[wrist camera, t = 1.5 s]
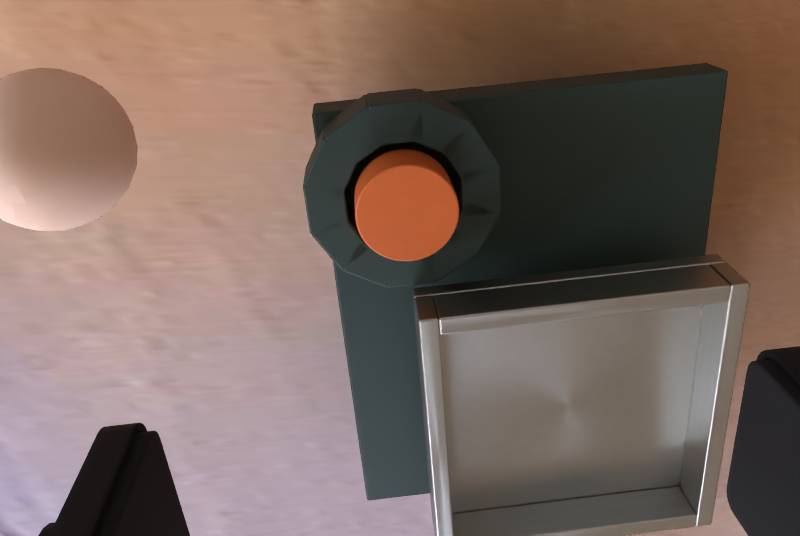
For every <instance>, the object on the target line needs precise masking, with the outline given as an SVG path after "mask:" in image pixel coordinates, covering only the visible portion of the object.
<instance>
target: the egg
mask: <svg viewBox="0 0 800 536" xmlns="http://www.w3.org/2000/svg"><path fill="white" fill-rule="evenodd" d="M136 166H137V143H136V138H135V134H134V129H133V126H132V124H131V122H130V120H129V118H128V116H127V114H126V112H125V110H124V108H123V107H122V106H121V105H120V104H119V102H118V101H117V100H116V99H115V98H114V97H113V96H112V95H111V94H110V93H109V92H108V91H107V90H105V89H104V88H103V87H102V86H100V85H98V84H97V83H95V82H93V81H91V80H90V79H88V78H86V77H84V76H82V75H78V74H75V73H71V72H68V71H65V70H61V69H51V68H36V69H28V70H24V71H20V72H16V73H12V74H9V75H8V76H6V77H4V78H2V79H0V219H2V220H4V221H5V222H8V223H11V224H14V225H16V226H19V227H22V228H27V229H32V230H38V231H61V230H69V229H74V228H76V227H79V226H82V225H85V224H87V223H90V222H92V221H94V220H95V219H97V218H99V217H101V216H102V215H104V214H105V213H106V212H108V211H109V210H110V209H111V208H113V207H114V205H115V204H116V203H117V202H118V200H119V199H120V198H121V197H122V195H123V194H124V193H125V192H126V190H127V189H128V188H129V185H130V182H131V180H132V177H133V174H134V172H135V169H136Z"/></svg>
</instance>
